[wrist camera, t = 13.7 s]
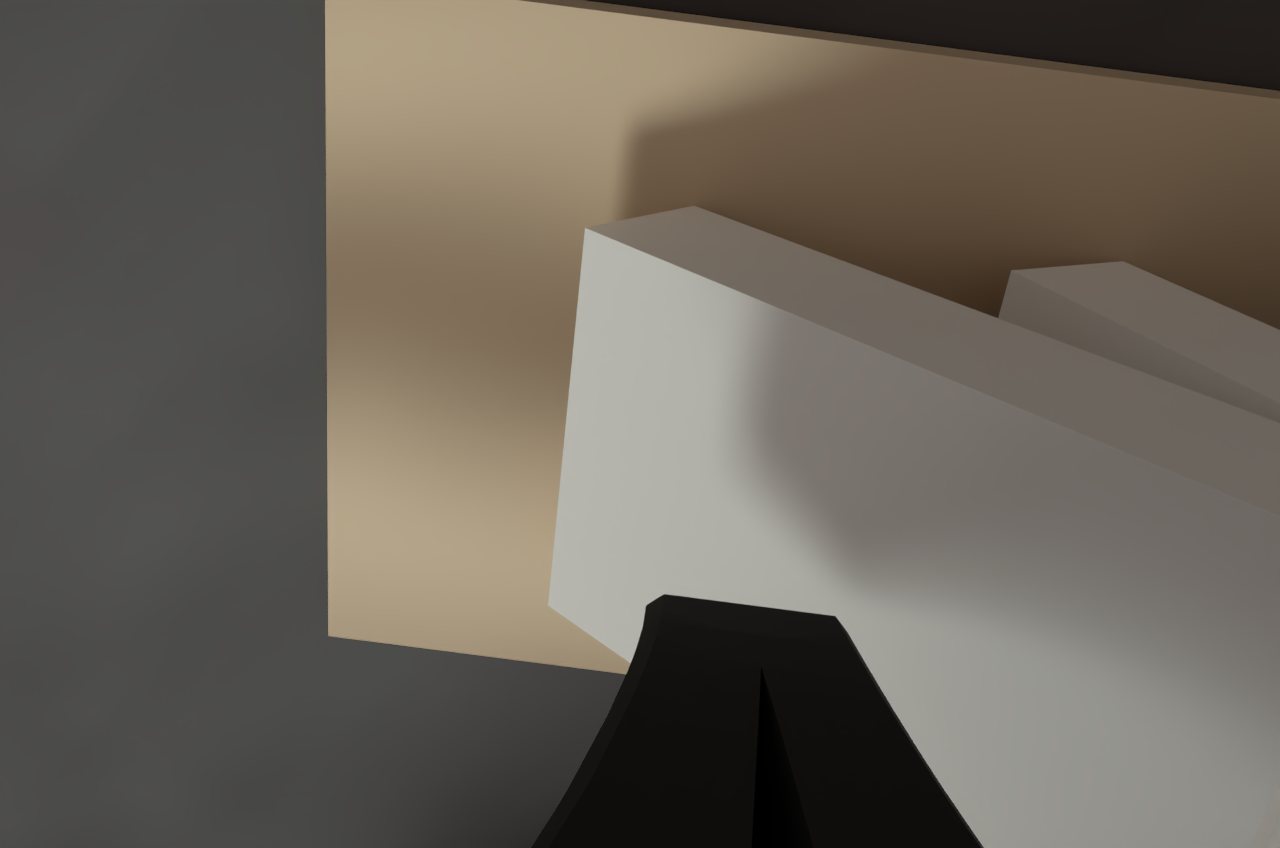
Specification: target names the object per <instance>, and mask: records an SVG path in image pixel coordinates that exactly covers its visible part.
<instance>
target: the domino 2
mask: <svg viewBox="0 0 1280 848" xmlns="http://www.w3.org/2000/svg"><path fill="white" fill-rule="evenodd" d="M998 319H1001V320H1004V321H1006V322H1009V323H1012V324H1015V325H1017V326H1020V327H1023V328H1025V329H1028V330H1031V331H1033V332H1036V333H1039V334H1041V335H1044V336H1047V337H1050V338H1052V339H1055V340H1058V341H1060V342H1063V343H1066V344H1068V345H1071V346H1074V347H1076V348H1079V349H1082V350H1085V351H1087V352H1090V353H1093V354H1095V355H1098V356H1101V357H1103V358H1106V359H1109V360H1111V361H1114V362H1117V363H1120V364H1122V365H1125V366H1128V367H1130V368H1133V369H1136V370H1138V371H1141V372H1144V373H1147V374H1149V375H1152V376H1155V377H1157V378H1160V379H1163V380H1165V381H1168V382H1171V383H1173V384H1176V385H1179V386H1182V387H1184V388H1187V389H1190V390H1192V391H1195V392H1198V393H1200V394H1203V395H1206V396H1208V397H1211V398H1214V399H1217V400H1219V401H1222V402H1225V403H1227V404H1230V405H1233V406H1235V407H1238V408H1241V409H1243V410H1246V411H1249V412H1252V413H1254V414H1257V415H1260V416H1262V417H1265V418H1268V419H1270V420H1273V421H1276V422H1278V423H1280V330H1279V329H1276V328H1274V327H1272V326H1270V325H1267V324H1265V323H1263V322H1260V321H1258V320H1256V319H1254V318H1251V317H1249V316H1247V315H1245V314H1242V313H1240V312H1238V311H1235V310H1233V309H1231V308H1229V307H1226V306H1224V305H1222V304H1219V303H1217V302H1215V301H1213V300H1210V299H1208V298H1206V297H1204V296H1201V295H1199V294H1197V293H1194V292H1192V291H1190V290H1188V289H1185V288H1183V287H1181V286H1179V285H1176V284H1174V283H1172V282H1169V281H1167V280H1165V279H1163V278H1160V277H1158V276H1156V275H1154V274H1151V273H1149V272H1147V271H1144V270H1142V269H1140V268H1138V267H1135V266H1133V265H1131V264H1129V263H1126V262H1124V261H1119V262H1107V263H1095V264H1083V265H1071V266H1059V267H1046V268H1034V269H1022V270H1011V273H1010V277H1009V280H1008V284H1007V287H1006V291H1005V295H1004V298H1003V302H1002V306H1001V309H1000V313H999V317H998ZM1264 848H1280V817H1279V819H1278V821H1277V823H1276V825H1275V827H1274V829H1273V831H1272V833H1271V835H1270V837H1269V839H1268V841H1267V843H1266V845H1265V847H1264Z"/></svg>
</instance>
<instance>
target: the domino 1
mask: <svg viewBox="0 0 1280 848" xmlns="http://www.w3.org/2000/svg"><path fill="white" fill-rule="evenodd" d="M663 594H668V595H676V596H683V597H691V598H699V599H707V600H714V601H722V602H730V603H738V604H745V605H753V606H761V607H769V608H776V609H784V610H792V611H800V612H807V613H815V614H823V615H831V616H836V618H837V619H838V620H839V622H840V623H841V624H842V626H843V627H844V628H845V630H846V631H847V632H848V634H849V636H850V637H851V639H852V641H853V643H854V644H855V646H856V648H857V649H858V651H859V653H860V655H861V656H862V658H863V660H864V661H865V663H866V665H867V666H868V668H869V670H870V672H871V673H872V675H873V677H874V678H875V680H876V682H877V683H878V685H879V687H880V688H881V690H882V692H883V693H884V695H885V697H886V698H887V700H888V702H889V703H890V705H891V707H892V708H893V710H894V712H895V713H896V715H897V716H898V718H899V720H900V721H901V723H902V724H903V726H904V728H905V729H906V731H907V732H908V734H909V736H910V737H911V739H912V740H913V742H914V744H915V745H916V747H917V748H918V750H919V752H920V753H921V755H922V756H923V758H924V760H925V761H926V763H927V764H928V766H929V767H930V769H931V770H932V772H933V773H934V775H935V776H936V778H937V780H938V781H939V783H940V784H941V786H942V787H943V789H944V790H945V792H946V793H947V795H948V796H949V798H950V799H951V800H952V802H953V803H954V805H955V806H956V808H957V809H958V811H959V812H960V814H961V815H962V817H963V818H964V819H965V821H966V822H967V824H968V825H969V827H970V828H971V830H972V831H973V833H974V834H975V836H976V837H977V838H978V840H979V841H980V843H981V844H982V846H983V847H984V848H1264V847H1265V845H1266V843H1267V841H1268V839H1269V837H1270V835H1271V833H1272V831H1273V829H1274V827H1275V825H1276V823H1277V821H1278V819H1279V817H1280V423H1278V422H1276V421H1273V420H1270V419H1268V418H1265V417H1262V416H1260V415H1257V414H1254V413H1252V412H1249V411H1246V410H1243V409H1241V408H1238V407H1235V406H1233V405H1230V404H1227V403H1225V402H1222V401H1219V400H1217V399H1214V398H1211V397H1208V396H1206V395H1203V394H1200V393H1198V392H1195V391H1192V390H1190V389H1187V388H1184V387H1182V386H1179V385H1176V384H1173V383H1171V382H1168V381H1165V380H1163V379H1160V378H1157V377H1155V376H1152V375H1149V374H1147V373H1144V372H1141V371H1138V370H1136V369H1133V368H1130V367H1128V366H1125V365H1122V364H1120V363H1117V362H1114V361H1111V360H1109V359H1106V358H1103V357H1101V356H1098V355H1095V354H1093V353H1090V352H1087V351H1085V350H1082V349H1079V348H1076V347H1074V346H1071V345H1068V344H1066V343H1063V342H1060V341H1058V340H1055V339H1052V338H1050V337H1047V336H1044V335H1041V334H1039V333H1036V332H1033V331H1031V330H1028V329H1025V328H1023V327H1020V326H1017V325H1015V324H1012V323H1009V322H1006V321H1004V320H1001V319H998V318H996V317H993V316H990V315H988V314H985V313H982V312H980V311H977V310H974V309H971V308H969V307H966V306H963V305H961V304H958V303H955V302H953V301H950V300H947V299H945V298H942V297H939V296H936V295H934V294H931V293H928V292H926V291H923V290H920V289H918V288H915V287H912V286H910V285H907V284H904V283H901V282H899V281H896V280H893V279H891V278H888V277H885V276H883V275H880V274H877V273H875V272H872V271H869V270H866V269H864V268H861V267H858V266H856V265H853V264H850V263H848V262H845V261H842V260H839V259H837V258H834V257H831V256H829V255H826V254H823V253H821V252H818V251H815V250H813V249H810V248H807V247H804V246H802V245H799V244H796V243H794V242H791V241H788V240H786V239H783V238H780V237H778V236H775V235H772V234H769V233H767V232H764V231H761V230H759V229H756V228H753V227H751V226H748V225H745V224H743V223H740V222H737V221H734V220H732V219H729V218H726V217H724V216H721V215H718V214H716V213H713V212H710V211H708V210H705V209H702V208H699V207H697V206H690V207H685V208H680V209H675V210H670V211H665V212H660V213H655V214H650V215H645V216H641V217H636V218H631V219H626V220H621V221H616V222H611V223H606V224H601V225H596V226H591V227H586V228H585V233H584V243H583V253H582V263H581V274H580V284H579V294H578V304H577V314H576V324H575V335H574V345H573V355H572V365H571V375H570V386H569V396H568V406H567V416H566V426H565V437H564V447H563V457H562V467H561V477H560V488H559V498H558V508H557V518H556V528H555V539H554V549H553V559H552V569H551V579H550V590H549V600H548V606H549V607H550V608H552V609H553V610H555V611H556V612H558V613H559V614H560V615H562V616H563V617H565V618H566V619H568V620H569V621H571V622H572V623H573V624H575V625H576V626H578V627H579V628H581V629H582V630H583V631H585V632H586V633H588V634H589V635H591V636H592V637H593V638H595V639H596V640H598V641H599V642H601V643H602V644H603V645H605V646H606V647H608V648H609V649H611V650H612V651H613V652H615V653H616V654H618V655H619V656H621V657H622V658H623V659H625V660H626V661H628V662H629V663H631V661H632V659H633V656H634V653H635V650H636V648H637V644H638V641H639V638H640V634H641V631H642V627H643V622H644V615H645V609H646V605H647V604H649V603H651V602H652V601H654V600H655V599H657V598H659V597H660V596H662V595H663Z"/></svg>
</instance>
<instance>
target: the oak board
mask: <svg viewBox="0 0 1280 848" xmlns="http://www.w3.org/2000/svg"><path fill="white" fill-rule="evenodd" d="M325 58H326V261H327V464H328V636H333V637H341V638H349V639H357V640H364V641H372V642H380V643H388V644H395V645H403V646H411V647H419V648H426V649H434V650H442V651H450V652H457V653H465V654H473V655H481V656H488V657H496V658H504V659H512V660H519V661H527V662H535V663H543V664H551V665H558V666H566V667H574V668H582V669H589V670H597V671H605V672H613V673H620V674H627V671H628V669H629V666H630V664H631V663H629V662H628V661H626V660H625V659H623V658H622V657H621V656H619V655H618V654H616V653H615V652H613V651H612V650H611V649H609V648H608V647H606V646H605V645H603V644H602V643H601V642H599V641H598V640H596V639H595V638H593V637H592V636H591V635H589V634H588V633H586V632H585V631H583V630H582V629H581V628H579V627H578V626H576V625H575V624H573V623H572V622H571V621H569V620H568V619H566V618H565V617H563V616H562V615H560V614H559V613H558V612H556V611H555V610H553V609H552V608H550V607H549V606H548V600H549V590H550V579H551V569H552V559H553V549H554V539H555V528H556V518H557V508H558V498H559V488H560V477H561V467H562V457H563V447H564V437H565V426H566V416H567V406H568V396H569V386H570V375H571V365H572V355H573V345H574V335H575V324H576V314H577V304H578V294H579V284H580V274H581V263H582V253H583V243H584V233H585V228H586V227H591V226H596V225H601V224H606V223H611V222H616V221H621V220H626V219H631V218H636V217H641V216H645V215H650V214H655V213H660V212H665V211H670V210H675V209H680V208H685V207H690V206H697V207H699V208H702V209H705V210H708V211H710V212H713V213H716V214H718V215H721V216H724V217H726V218H729V219H732V220H734V221H737V222H740V223H743V224H745V225H748V226H751V227H753V228H756V229H759V230H761V231H764V232H767V233H769V234H772V235H775V236H778V237H780V238H783V239H786V240H788V241H791V242H794V243H796V244H799V245H802V246H804V247H807V248H810V249H813V250H815V251H818V252H821V253H823V254H826V255H829V256H831V257H834V258H837V259H839V260H842V261H845V262H848V263H850V264H853V265H856V266H858V267H861V268H864V269H866V270H869V271H872V272H875V273H877V274H880V275H883V276H885V277H888V278H891V279H893V280H896V281H899V282H901V283H904V284H907V285H910V286H912V287H915V288H918V289H920V290H923V291H926V292H928V293H931V294H934V295H936V296H939V297H942V298H945V299H947V300H950V301H953V302H955V303H958V304H961V305H963V306H966V307H969V308H971V309H974V310H977V311H980V312H982V313H985V314H988V315H990V316H993V317H996V318H998V317H999V313H1000V309H1001V306H1002V302H1003V298H1004V295H1005V291H1006V287H1007V284H1008V280H1009V277H1010V273H1011V270H1022V269H1034V268H1046V267H1059V266H1071V265H1083V264H1095V263H1107V262H1119V261H1124V262H1126V263H1129V264H1131V265H1133V266H1135V267H1138V268H1140V269H1142V270H1144V271H1147V272H1149V273H1151V274H1154V275H1156V276H1158V277H1160V278H1163V279H1165V280H1167V281H1169V282H1172V283H1174V284H1176V285H1179V286H1181V287H1183V288H1185V289H1188V290H1190V291H1192V292H1194V293H1197V294H1199V295H1201V296H1204V297H1206V298H1208V299H1210V300H1213V301H1215V302H1217V303H1219V304H1222V305H1224V306H1226V307H1229V308H1231V309H1233V310H1235V311H1238V312H1240V313H1242V314H1245V315H1247V316H1249V317H1251V318H1254V319H1256V320H1258V321H1260V322H1263V323H1265V324H1267V325H1270V326H1272V327H1274V328H1276V329H1279V330H1280V91H1276V90H1269V89H1261V88H1253V87H1246V86H1238V85H1230V84H1223V83H1215V82H1207V81H1200V80H1192V79H1184V78H1177V77H1169V76H1161V75H1153V74H1146V73H1138V72H1130V71H1123V70H1115V69H1107V68H1100V67H1092V66H1084V65H1077V64H1069V63H1061V62H1054V61H1046V60H1038V59H1031V58H1023V57H1015V56H1008V55H1000V54H992V53H985V52H977V51H969V50H962V49H954V48H946V47H939V46H931V45H923V44H916V43H908V42H900V41H893V40H885V39H877V38H870V37H862V36H854V35H847V34H839V33H831V32H823V31H816V30H808V29H800V28H793V27H785V26H777V25H770V24H762V23H754V22H747V21H739V20H731V19H724V18H716V17H708V16H701V15H693V14H685V13H678V12H670V11H662V10H655V9H647V8H639V7H632V6H624V5H616V4H609V3H601V2H593V1H586V0H325Z"/></svg>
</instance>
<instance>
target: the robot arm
mask: <svg viewBox="0 0 1280 848" xmlns="http://www.w3.org/2000/svg"><path fill="white" fill-rule="evenodd" d="M531 848H984V847H983V846H982V844H981V843H980V841H979V840H978V838H977V837H976V836H975V834H974V833H973V831H972V830H971V828H970V827H969V825H968V824H967V822H966V821H965V819H964V818H963V817H962V815H961V814H960V812H959V811H958V809H957V808H956V806H955V805H954V803H953V802H952V800H951V799H950V798H949V796H948V795H947V793H946V792H945V790H944V789H943V787H942V786H941V784H940V783H939V781H938V780H937V778H936V776H935V775H934V773H933V772H932V770H931V769H930V767H929V766H928V764H927V763H926V761H925V760H924V758H923V756H922V755H921V753H920V752H919V750H918V748H917V747H916V745H915V744H914V742H913V740H912V739H911V737H910V736H909V734H908V732H907V731H906V729H905V728H904V726H903V724H902V723H901V721H900V720H899V718H898V716H897V715H896V713H895V712H894V710H893V708H892V707H891V705H890V703H889V702H888V700H887V698H886V697H885V695H884V693H883V692H882V690H881V688H880V687H879V685H878V683H877V682H876V680H875V678H874V677H873V675H872V673H871V672H870V670H869V668H868V666H867V665H866V663H865V661H864V660H863V658H862V656H861V655H860V653H859V651H858V649H857V648H856V646H855V644H854V643H853V641H852V639H851V637H850V636H849V634H848V632H847V631H846V630H845V628H844V627H843V626H842V624H841V623H840V622H839V620H838V619H837V618H836V616H831V615H823V614H815V613H807V612H800V611H792V610H784V609H776V608H769V607H761V606H753V605H745V604H738V603H730V602H722V601H714V600H707V599H699V598H691V597H683V596H676V595H668V594H663V595H662V596H660V597H659V598H657V599H655V600H654V601H652V602H651V603H649V604H647V605H646V609H645V615H644V622H643V627H642V631H641V634H640V638H639V641H638V644H637V648H636V650H635V653H634V656H633V659H632V661H631V664H630V666H629V669H628V671H627V674H626V676H625V679H624V681H623V683H622V685H621V687H620V690H619V692H618V694H617V696H616V698H615V701H614V703H613V705H612V707H611V709H610V712H609V714H608V716H607V718H606V720H605V721H604V723H603V725H602V727H601V729H600V731H599V733H598V734H597V736H596V738H595V740H594V742H593V744H592V746H591V747H590V749H589V751H588V753H587V755H586V757H585V759H584V760H583V762H582V764H581V766H580V768H579V770H578V771H577V773H576V775H575V777H574V779H573V781H572V783H571V784H570V786H569V788H568V790H567V792H566V793H565V795H564V797H563V798H562V800H561V802H560V803H559V805H558V807H557V808H556V810H555V812H554V813H553V815H552V816H551V818H550V820H549V821H548V823H547V824H546V826H545V827H544V829H543V830H542V832H541V833H540V835H539V837H538V838H537V840H536V841H535V843H534V844H533V846H532V847H531Z"/></svg>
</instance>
